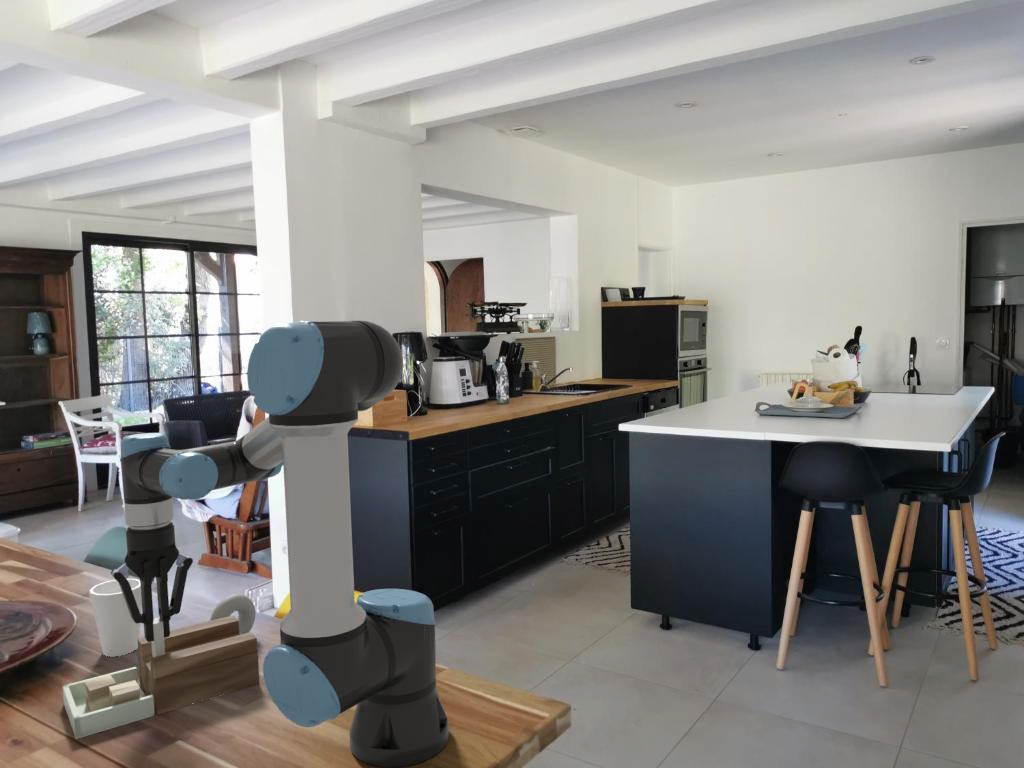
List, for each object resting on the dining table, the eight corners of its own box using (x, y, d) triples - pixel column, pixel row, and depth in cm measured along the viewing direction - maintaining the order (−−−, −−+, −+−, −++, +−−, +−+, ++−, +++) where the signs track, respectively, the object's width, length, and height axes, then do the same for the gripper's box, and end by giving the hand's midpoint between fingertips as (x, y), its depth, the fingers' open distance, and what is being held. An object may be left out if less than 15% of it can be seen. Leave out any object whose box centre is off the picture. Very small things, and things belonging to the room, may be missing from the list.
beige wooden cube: (136, 702, 132) (141, 711, 129) (110, 709, 129) (114, 719, 126) (135, 679, 131) (139, 688, 128) (108, 686, 129) (113, 696, 126)
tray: (154, 715, 128) (153, 696, 128) (75, 739, 122) (74, 719, 121) (136, 684, 140) (135, 666, 139) (63, 704, 133) (62, 685, 133)
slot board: (259, 684, 139) (257, 638, 138) (157, 714, 129) (154, 665, 128) (235, 657, 150) (233, 614, 149) (139, 683, 140) (137, 637, 139)
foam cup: (156, 640, 158) (152, 579, 157) (129, 660, 149) (125, 595, 148) (112, 639, 159) (108, 578, 158) (83, 659, 150) (78, 594, 149)
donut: (218, 653, 152) (215, 604, 151) (207, 649, 154) (204, 601, 153) (260, 635, 160) (258, 588, 159) (249, 632, 162) (247, 585, 161)
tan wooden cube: (89, 690, 128) (91, 713, 128) (116, 682, 130) (117, 705, 131) (84, 682, 131) (85, 704, 131) (110, 674, 133) (111, 697, 134)
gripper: (183, 513, 140) (191, 640, 142) (103, 526, 132) (112, 660, 134) (196, 521, 134) (204, 653, 136) (112, 535, 126) (122, 675, 128)
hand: (158, 656), depth 135 cm, fingers closed
